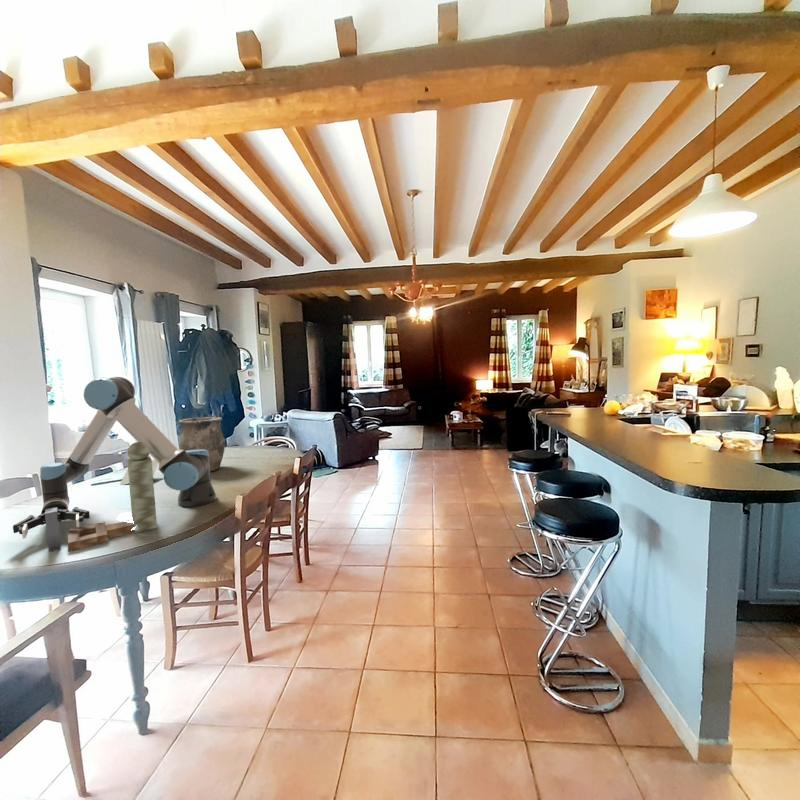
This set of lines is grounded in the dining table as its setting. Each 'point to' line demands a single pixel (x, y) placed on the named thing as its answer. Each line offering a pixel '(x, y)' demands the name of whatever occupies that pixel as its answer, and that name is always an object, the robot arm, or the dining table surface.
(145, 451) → the knobbed post on base
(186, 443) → the clay pot
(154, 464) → the wall
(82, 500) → the dining table surface
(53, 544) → the grey rectangular block
